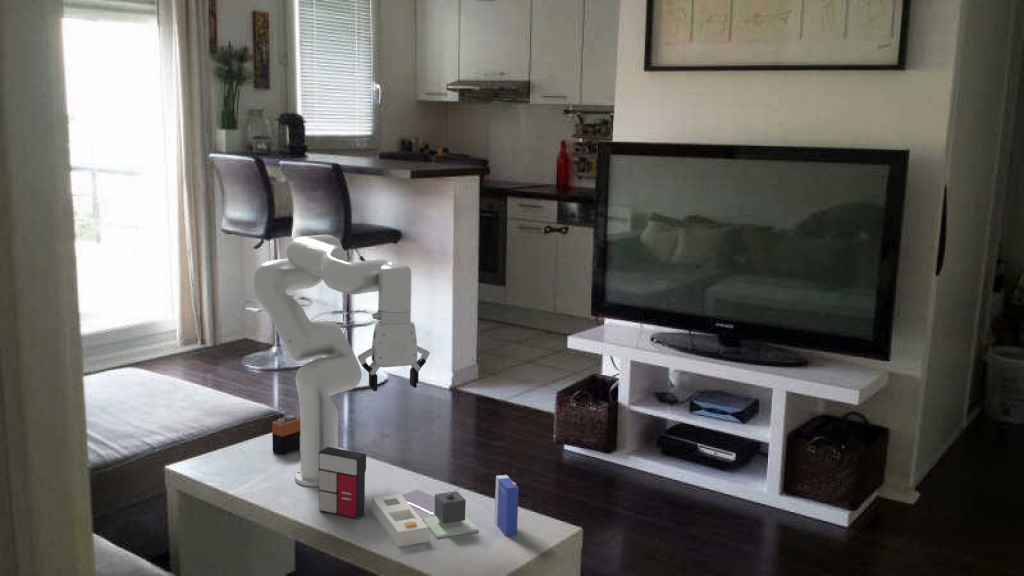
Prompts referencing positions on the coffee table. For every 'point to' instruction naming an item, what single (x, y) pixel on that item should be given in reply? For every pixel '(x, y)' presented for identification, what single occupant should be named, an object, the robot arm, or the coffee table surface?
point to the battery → (286, 435)
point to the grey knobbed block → (450, 509)
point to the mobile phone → (421, 501)
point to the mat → (444, 532)
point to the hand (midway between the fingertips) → (393, 388)
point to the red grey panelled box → (342, 482)
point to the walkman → (506, 505)
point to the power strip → (400, 520)
